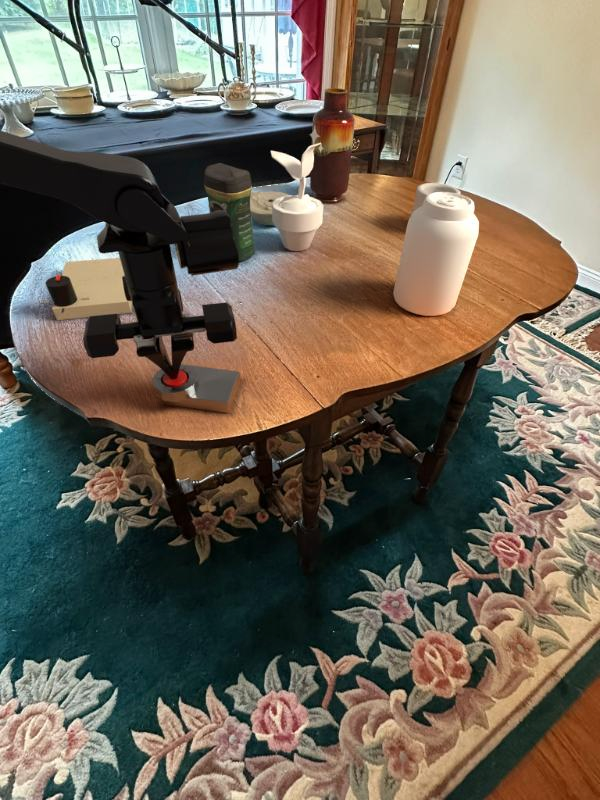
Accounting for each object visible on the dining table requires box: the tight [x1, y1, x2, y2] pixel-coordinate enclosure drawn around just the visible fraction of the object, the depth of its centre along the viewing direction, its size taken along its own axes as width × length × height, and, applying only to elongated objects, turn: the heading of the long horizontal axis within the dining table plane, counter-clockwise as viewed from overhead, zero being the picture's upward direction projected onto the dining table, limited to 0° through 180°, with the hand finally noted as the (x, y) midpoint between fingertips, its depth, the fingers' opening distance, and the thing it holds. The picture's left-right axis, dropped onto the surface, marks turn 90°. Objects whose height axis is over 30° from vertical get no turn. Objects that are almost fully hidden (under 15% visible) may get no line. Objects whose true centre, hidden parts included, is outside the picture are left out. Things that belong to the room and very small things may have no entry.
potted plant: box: [270, 127, 324, 252], centre depth 95 cm, size 13×12×25 cm
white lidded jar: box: [392, 192, 480, 317], centre depth 81 cm, size 12×12×20 cm
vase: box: [309, 87, 356, 204], centre depth 118 cm, size 11×11×26 cm
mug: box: [411, 182, 462, 214], centre depth 110 cm, size 14×11×10 cm
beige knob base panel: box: [40, 257, 133, 321], centre depth 84 cm, size 15×20×3 cm
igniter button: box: [163, 370, 188, 388], centre depth 63 cm, size 3×3×2 cm
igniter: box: [151, 363, 241, 414], centre depth 65 cm, size 11×8×4 cm
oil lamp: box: [250, 191, 291, 226], centre depth 113 cm, size 21×14×5 cm
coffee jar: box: [203, 162, 256, 262], centre depth 93 cm, size 10×8×19 cm
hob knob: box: [45, 273, 77, 307], centre depth 77 cm, size 4×4×4 cm
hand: (174, 376), depth 63 cm, fingers closed, pressing on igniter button
